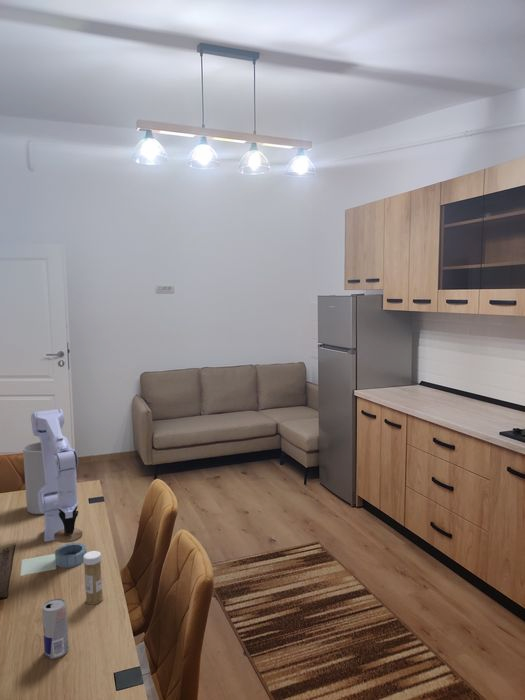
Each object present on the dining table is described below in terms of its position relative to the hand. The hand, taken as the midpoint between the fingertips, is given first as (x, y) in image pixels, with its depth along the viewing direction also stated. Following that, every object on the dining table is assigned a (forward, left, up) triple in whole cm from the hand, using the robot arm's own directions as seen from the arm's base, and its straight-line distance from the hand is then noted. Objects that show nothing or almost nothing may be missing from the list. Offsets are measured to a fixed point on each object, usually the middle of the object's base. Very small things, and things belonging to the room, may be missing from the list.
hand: (69, 530), depth 165 cm
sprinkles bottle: (+25, +5, -10) cm, 27 cm away
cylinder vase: (-46, -8, -10) cm, 48 cm away
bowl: (0, 0, -10) cm, 10 cm away
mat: (-1, -10, -10) cm, 14 cm away
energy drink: (+43, -5, -10) cm, 44 cm away
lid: (0, 0, -2) cm, 2 cm away
